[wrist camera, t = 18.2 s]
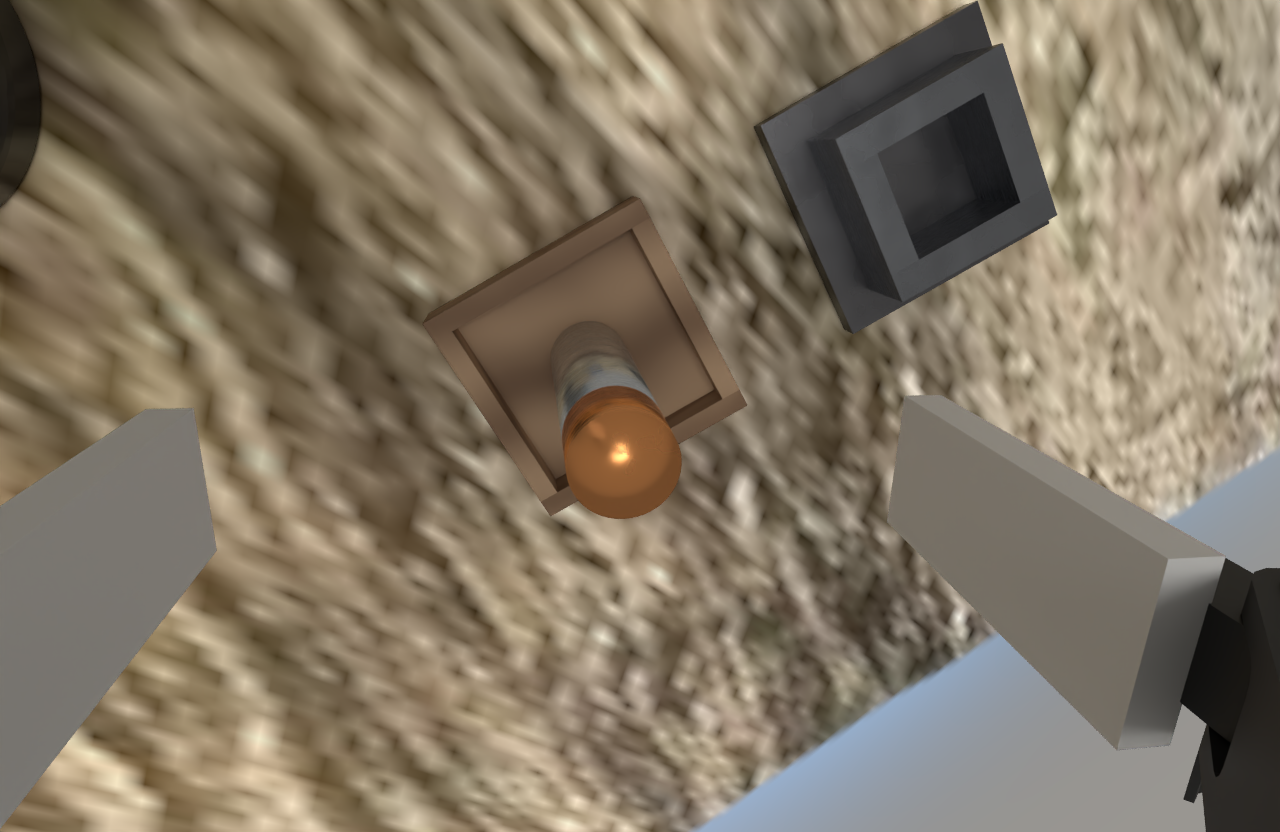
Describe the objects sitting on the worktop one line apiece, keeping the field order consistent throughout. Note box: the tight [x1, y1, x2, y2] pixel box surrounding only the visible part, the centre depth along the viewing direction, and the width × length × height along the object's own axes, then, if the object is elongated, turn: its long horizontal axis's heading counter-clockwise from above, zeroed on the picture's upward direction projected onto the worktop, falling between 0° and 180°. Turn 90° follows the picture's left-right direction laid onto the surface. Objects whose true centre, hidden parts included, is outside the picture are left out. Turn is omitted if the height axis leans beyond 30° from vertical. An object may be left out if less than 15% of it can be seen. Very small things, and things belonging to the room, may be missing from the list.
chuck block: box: [754, 1, 1057, 334], centre depth 38 cm, size 12×12×5 cm
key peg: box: [551, 321, 682, 519], centre depth 33 cm, size 4×4×15 cm
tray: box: [423, 196, 747, 516], centre depth 40 cm, size 12×12×3 cm
